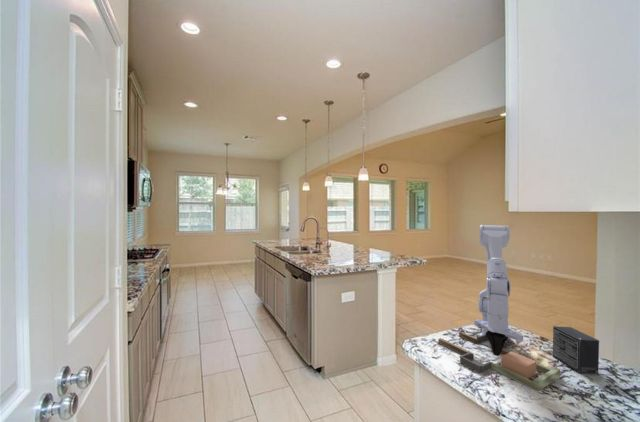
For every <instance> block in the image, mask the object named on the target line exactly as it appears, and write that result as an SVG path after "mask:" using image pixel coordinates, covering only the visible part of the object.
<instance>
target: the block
mask: <svg viewBox="0 0 640 422" xmlns="http://www.w3.org/2000/svg"><path fill="white" fill-rule="evenodd" d="M509 352H510V353H507V354H505V355H502V354H501V355H500V356H501V357H500V363H501V364H500V366H501V367H504V368H506V369H508V370H510V371H512V372H514V373H516V374H518V375H521V376H523V377H525V378H527V379H530V378H531V377H534V376H536V375H537V369H536V363H537V361H535V360H534V359H531V358H528V357H525V356H524V355H522V354H518V353H516V352H514V351H509Z"/></svg>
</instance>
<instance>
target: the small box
mask: <svg viewBox="0 0 640 422" xmlns="http://www.w3.org/2000/svg"><path fill="white" fill-rule="evenodd" d="M552 329H553V332H552V333H553V337H552V341H553V342H552V358H554V357H555V359H556V360H558V361H559V360H560V361H559V362H561V363H562V364H564V365H565V364H566V365H565V366H567V367H569V368H570V369H571V370H573V371H574V372H576V373H578V374H599V363H600V362H599V358H600V357H599V355H600V352H599V351H600V340H599V339H597V338H595V337H593V336H590V335H589V334H586V333H584V332H582V331H580V330H578V329H575V328H573V327H572V326H557V325H553V326H552Z"/></svg>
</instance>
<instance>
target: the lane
mask: <svg viewBox="0 0 640 422" xmlns="http://www.w3.org/2000/svg"><path fill="white" fill-rule="evenodd" d="M458 336H459V337H460V338H462V339H464V340H467V341H469V342H472V343H474V344H479V343H478V339H477V337H475V336H473V335H470V334H467V333H465V332H462V331H460V332H458ZM438 344H440V345H442V346H444V347H446V348H448V349H451V350H452V351H454V352H456V353H458V354H460V355H464V354H466V353H469V352H470V351H469V350H467V349H465V348H463V347H460V346H459V345H456V344H455V343H452V342H449V341H447V340H446V339H444V338H441V337H440V338H438ZM510 352H511V351H509V350H506V349H504V348H502V352H501V356H502V355H505V354H507V353H510ZM471 353H472V358H473V359H474V358H475V357H474V356H475V354H474V353H473V352H471ZM491 362H492V369H491V370H493V371H495V372H497V373H499V372H500V373H499V374H502V375H503V374H504V376H506V377H508V378H509V379H512V380H514V381H516V382H518V383H520V384H522V385H524V386H526V387H528V388H530V389H532V390H534V391H536V392H539V391H541V390H543V389H545V388H546V387H547V386H549V385H551V384H552V383H554V382H556V381H558V380H559V379H561V369H560V368H558V367H554V368H550V367H547V366H546V365H545V366H544V364H543V365H542V364H540V363H537V362H536V371H539V372H541V373H543V374H541V375H539V376H538V377H535V378H533V380H531V379H530V378H528V379H527V378H525V377H523V376H521V375H518V374H516V373H514V372H512V371H510V370H508V369H506V368H504V367H501V365H499V364H498V363H494V362H493V361H491Z"/></svg>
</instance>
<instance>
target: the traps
mask: <svg viewBox="0 0 640 422" xmlns="http://www.w3.org/2000/svg"><path fill="white" fill-rule="evenodd" d="M476 338H477V339H478V343H477V344H480V345H483V346H484V347H487V348H490V349H492V347H491V344H490V342H489V339H488V338H487V336H486V334H484V335H481V336H476ZM504 348H505V345H504V346H503V348H502V349H504ZM472 353H473V352H471V351H469V353H466V354H464V355H462V354H460V356H459V363H460V364H461V365H464V366H466V367H468V368H469V369H472V370H474V371H475V372H477V373H479V374H482V373H484V372H488V371H489V370H493V369H492V362H493V361H487V362H485V363H483V362H481V361H479V360H477V359H474V358H472Z"/></svg>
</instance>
